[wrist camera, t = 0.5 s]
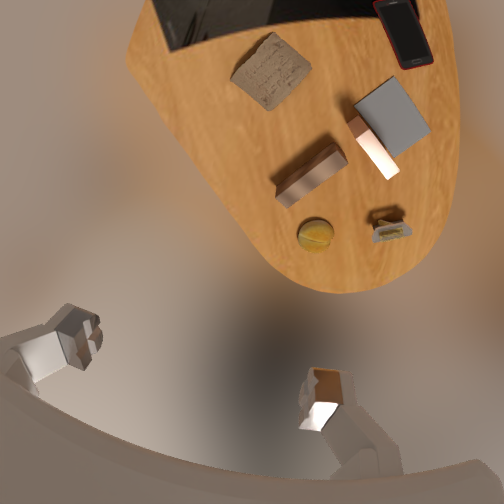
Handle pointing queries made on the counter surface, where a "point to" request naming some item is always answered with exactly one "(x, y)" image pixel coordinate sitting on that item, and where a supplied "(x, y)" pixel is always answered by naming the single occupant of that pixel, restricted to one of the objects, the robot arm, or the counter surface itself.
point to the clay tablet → (272, 72)
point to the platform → (390, 230)
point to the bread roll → (315, 236)
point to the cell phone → (404, 33)
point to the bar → (311, 175)
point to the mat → (393, 117)
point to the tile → (373, 147)
